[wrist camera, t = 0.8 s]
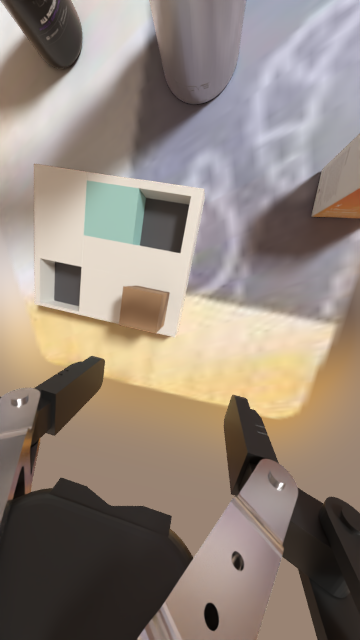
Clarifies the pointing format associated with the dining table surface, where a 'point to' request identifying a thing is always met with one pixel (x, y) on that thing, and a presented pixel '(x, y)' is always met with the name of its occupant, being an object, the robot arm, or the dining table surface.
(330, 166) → the small box
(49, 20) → the supplement bottle
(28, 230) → the dining table surface
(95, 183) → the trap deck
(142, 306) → the walnut block
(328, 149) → the dining table surface
